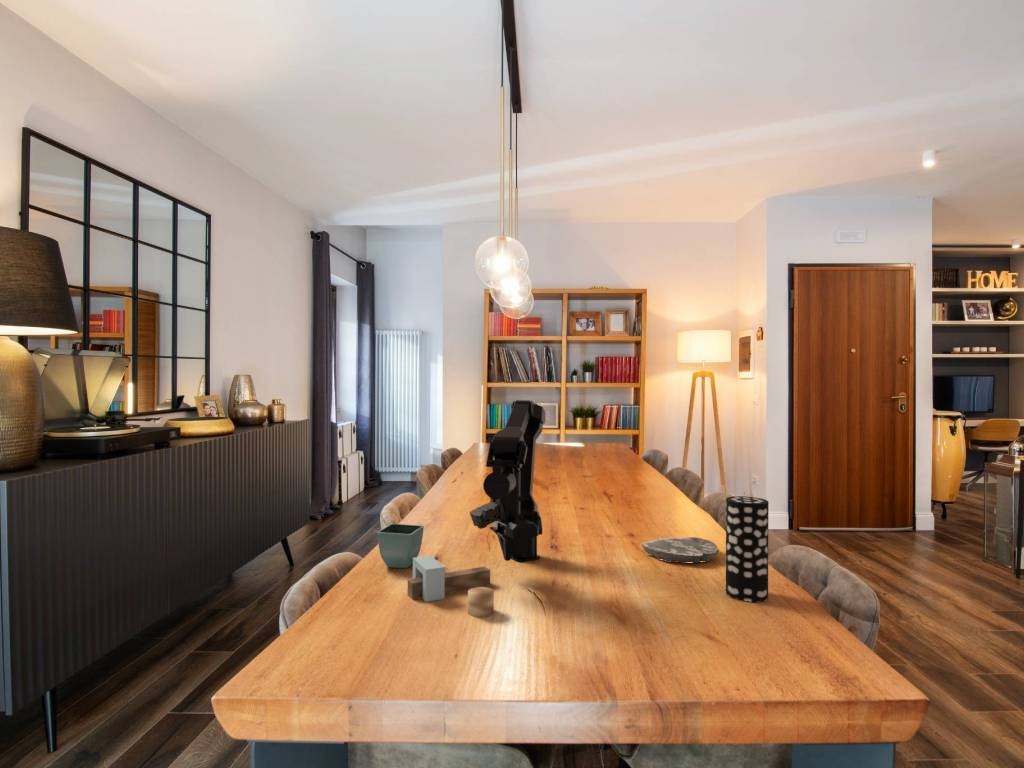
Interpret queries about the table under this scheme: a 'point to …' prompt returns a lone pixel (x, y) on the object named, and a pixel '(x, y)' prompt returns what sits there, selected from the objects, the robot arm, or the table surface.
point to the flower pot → (400, 544)
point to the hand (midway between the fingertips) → (507, 560)
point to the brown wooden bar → (453, 581)
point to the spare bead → (480, 602)
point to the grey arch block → (430, 577)
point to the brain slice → (681, 549)
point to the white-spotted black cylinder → (747, 548)
